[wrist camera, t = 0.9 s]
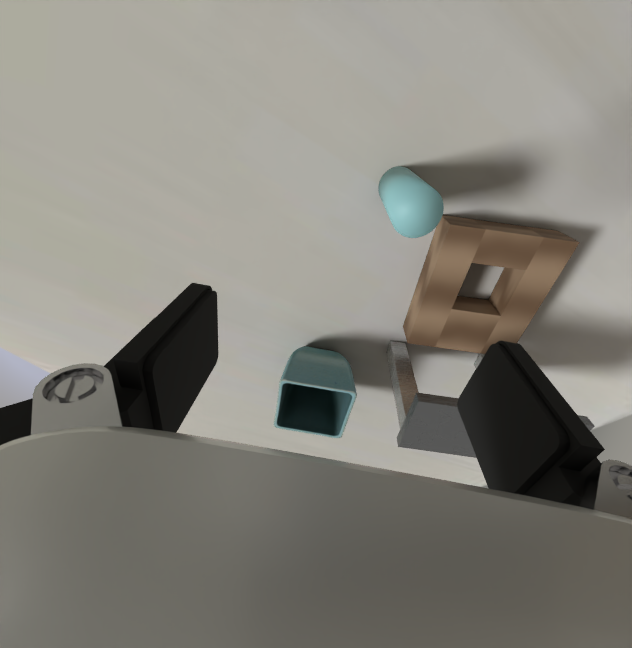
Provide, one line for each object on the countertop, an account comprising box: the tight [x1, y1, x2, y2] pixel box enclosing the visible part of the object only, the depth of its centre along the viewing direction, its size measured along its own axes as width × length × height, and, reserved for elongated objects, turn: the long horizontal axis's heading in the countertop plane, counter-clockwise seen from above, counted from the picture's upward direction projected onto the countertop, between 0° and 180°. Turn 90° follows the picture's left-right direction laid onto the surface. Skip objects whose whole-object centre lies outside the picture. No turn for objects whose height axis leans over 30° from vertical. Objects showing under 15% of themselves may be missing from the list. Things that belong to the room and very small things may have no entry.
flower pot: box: [274, 346, 357, 438], centre depth 40 cm, size 9×9×9 cm
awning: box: [387, 341, 594, 458], centre depth 33 cm, size 6×15×14 cm, turn 83°
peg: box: [379, 166, 444, 238], centre depth 26 cm, size 4×4×10 cm
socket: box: [403, 215, 579, 354], centre depth 33 cm, size 14×12×4 cm
